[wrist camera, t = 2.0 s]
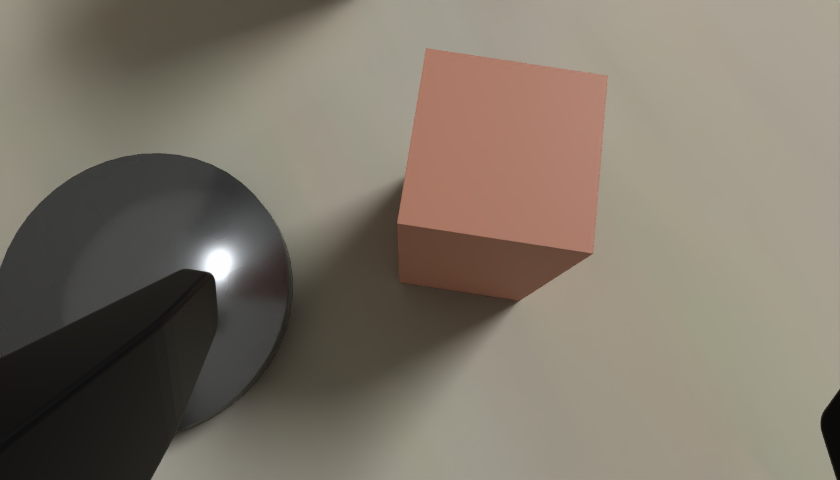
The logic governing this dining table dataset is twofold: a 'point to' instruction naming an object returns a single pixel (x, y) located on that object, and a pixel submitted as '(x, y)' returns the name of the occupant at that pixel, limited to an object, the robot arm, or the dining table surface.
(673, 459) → the dining table surface
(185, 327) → the robot arm
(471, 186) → the upright salmon prism
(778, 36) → the dining table surface
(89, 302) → the charcoal dinner plate
